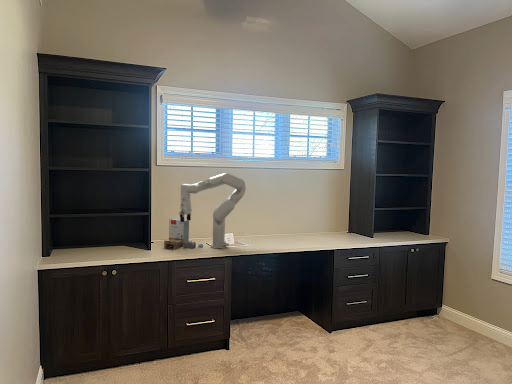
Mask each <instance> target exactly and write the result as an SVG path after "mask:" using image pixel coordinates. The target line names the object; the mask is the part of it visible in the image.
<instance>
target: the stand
mask: <svg viewBox="0 0 512 384" xmlns="http://www.w3.org/2000/svg"><path fill="white" fill-rule="evenodd" d="M163 243H164V244H163V248H164V249H165V250H166V249H169V248H172V247H173V250H178V249H180V248H183V239H179V238H172V240H169V239H168V240H166V239H165V240H163Z"/></svg>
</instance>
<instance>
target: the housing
mask: <svg viewBox="0 0 512 384" xmlns="http://www.w3.org/2000/svg"><path fill="white" fill-rule="evenodd" d="M182 248H183V249H184V250H186V249H187V250H194V249H196V248H197V242H196V241H193V240H189V241H187V242H184V243H183V247H182Z"/></svg>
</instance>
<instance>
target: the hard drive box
mask: <svg viewBox="0 0 512 384" xmlns="http://www.w3.org/2000/svg"><path fill="white" fill-rule="evenodd" d="M168 222H169V224H168V241H169V240H172V238H179V239H183V243H184V242H187V241H190V236H189V235H190V220H187V219H185V218H184V222H180V218H177V217H176V218H175V217H173V218H169V221H168Z"/></svg>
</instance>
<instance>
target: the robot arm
mask: <svg viewBox="0 0 512 384" xmlns="http://www.w3.org/2000/svg"><path fill="white" fill-rule="evenodd" d="M224 185H226V186H229V187H232V188H234V190H233V191H232V192H231V194H229V196H228V197H226V198H225V199H224V200H223V202H222V203H221V204H220V205H219V206H218V207H217V208H215V209H214V210H213V213H212V220H213V221H212V244H211V245H210V248H212V249H216V248H221V249H225V248H227V247H229V246H230V243H228V242H226V241H225V240H226V239H225V235H226V234H225V233H226V218H227V217H228V216H229V214H231V213H232V211H234V209H235V207H236V205H238V203H239V202H240V201H241V200H242V198H243V197H244V195H245V193H246V183H245V181H244V179H242V178H239V177H237V176H235V175H233V174H231V173H229V172H223V173H221V174H217V175H215V176H211V177H208V178H207V179H204V180H201V181H198V182H196V183H193V184H189V183H182V184H180V206H179V208H180V209H179V212H178V215H179V219H180V222H184V219H185V215H186V220H189V221H191V220H192V219H191V218H192V217H191V216H192V211H193V210H192V202H191V194H195V195H196V194H198V193H200V192H202V191H206V190H209V189H210V190H211V189H214V188H217V187H220V186H224Z"/></svg>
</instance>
